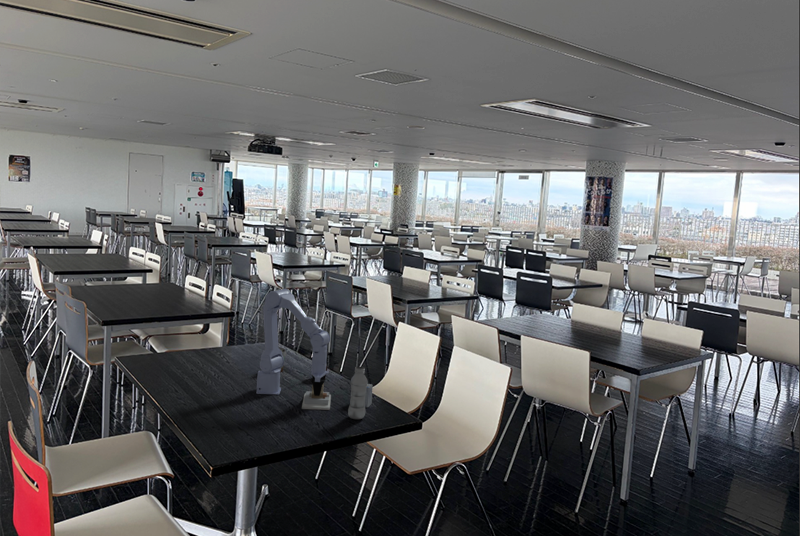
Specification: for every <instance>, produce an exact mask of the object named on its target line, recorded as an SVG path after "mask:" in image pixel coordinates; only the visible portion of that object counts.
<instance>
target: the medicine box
mask: <svg viewBox="0 0 800 536" xmlns="http://www.w3.org/2000/svg"><path fill="white" fill-rule="evenodd" d="M373 386H374V385H373V384H372V383H371V384H370V383H367V388H366V393H365V408H369V407H370V406H372V404H373V403H372V402H373V401H372V400H373Z"/></svg>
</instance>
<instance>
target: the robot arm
mask: <svg viewBox="0 0 800 536" xmlns="http://www.w3.org/2000/svg"><path fill="white" fill-rule="evenodd" d="M264 296H265V302H264V304H263V307H262V310H263V311H262V312H263V332H264V335H263V337H264V350H263V351H262V353H261V355H260V360H259V368H260V370H258V371H257V377H256V391H255V392H256V393H255V394H257V395H274V396H275V395H277V396H278V395H280V393H281V390H282V387H280V386H281V373H280V370H281V367H282V366H283V365H284V366H285V360H284V358H283V356H282V351H281V350H280V349H279V348H278V347H279V334H278V333H279V332H278V331H279V330H278V313H277V312H278V311H279V310H280V309H281V308H282V309H288V310H289V312H290V313H291V314H292V315H293V316H294V317H295V318H296V319H297V320H298V321H299V322H300V328H301V329H302V330H303V332H305V334H306V335H307V336H308V337H309V338H310V340H309V341H310V342H309V343H310V344H311V347H312V348H311V350H313V352H312V356H311V371H310V374H311V378H310V382H311V384H312V385H313V390H314V396H320V393H321V388H322V385H323V383H324V384H325V381H326V380H325V379H326V377H325V375H326V376H327V375H329V372H330V371H328V370H327V371H326V364H327V354H328V344H329V343H330V341H331V335H330V334H329V332H328V331H327V330H324V329H322V328H321V327H320V326H319V324H318V323H317V321H316V319H315V318H313V317H312V316H311V317H309V316H307V315H306V313H305V312H304V310H303V309H302V308H301V306H300V304H299V303H298V302H297V301H296V298H295V295H294V294H293V293H292V292H291V290H289V289H288V288H281V289H277V290H271V291H269V292H268V293H267V294H266V295H264ZM312 377H313V378H312ZM324 378H325V379H324ZM312 385H311V386H312Z"/></svg>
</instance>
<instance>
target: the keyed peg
mask: <svg viewBox="0 0 800 536" xmlns="http://www.w3.org/2000/svg"><path fill="white" fill-rule="evenodd" d="M324 384H325V382H324V383H323V385H322V388H321V393H320V396H314V390H313V385H311V391H312V398H320V399H325V397H327V393H323V392H324V387H325V386H324Z"/></svg>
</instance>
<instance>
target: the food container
mask: <svg viewBox="0 0 800 536" xmlns="http://www.w3.org/2000/svg"><path fill="white" fill-rule="evenodd" d="M278 348H279V349H280V350H281V351H282V356H283V358H284V361H285V359H286V356H287V351H286V349H285V348H283V347H279V346H278ZM284 366H285V364H284V365H283V366H282V367H281V370H280V374H281V372H282V373H283V372H284Z"/></svg>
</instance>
